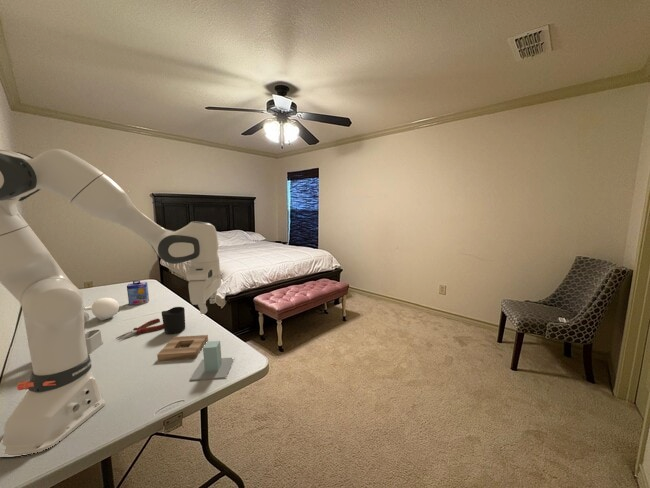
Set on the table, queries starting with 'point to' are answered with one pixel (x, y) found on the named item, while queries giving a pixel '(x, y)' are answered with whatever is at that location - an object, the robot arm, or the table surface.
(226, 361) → the rubber mat
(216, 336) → the table surface
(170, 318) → the pen holder
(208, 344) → the square plug
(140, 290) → the ink cartridge box
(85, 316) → the phone holder
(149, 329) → the pliers
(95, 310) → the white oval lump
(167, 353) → the plug dock
